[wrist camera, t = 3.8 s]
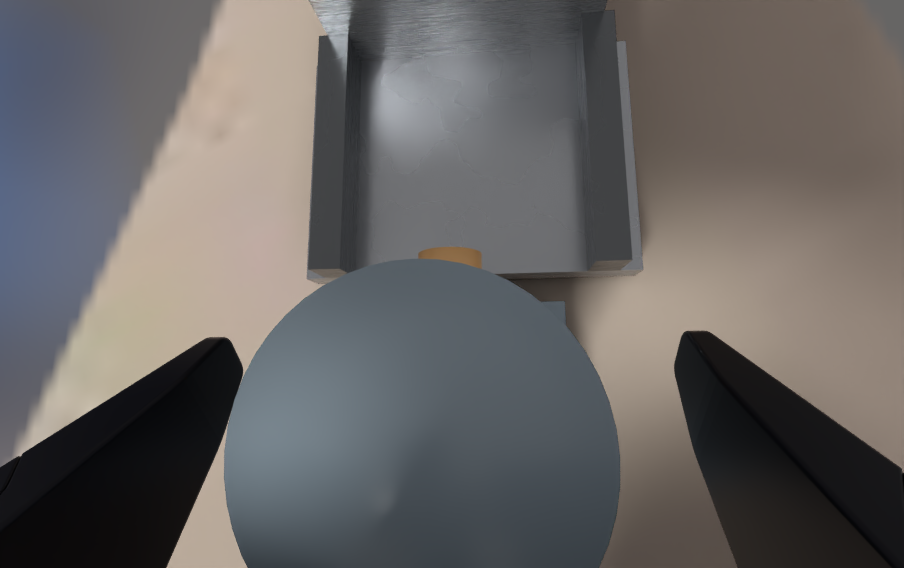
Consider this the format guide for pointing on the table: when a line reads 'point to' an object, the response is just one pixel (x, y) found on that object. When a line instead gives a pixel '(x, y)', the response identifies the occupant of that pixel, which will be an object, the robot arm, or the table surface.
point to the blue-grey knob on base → (422, 428)
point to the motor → (473, 137)
